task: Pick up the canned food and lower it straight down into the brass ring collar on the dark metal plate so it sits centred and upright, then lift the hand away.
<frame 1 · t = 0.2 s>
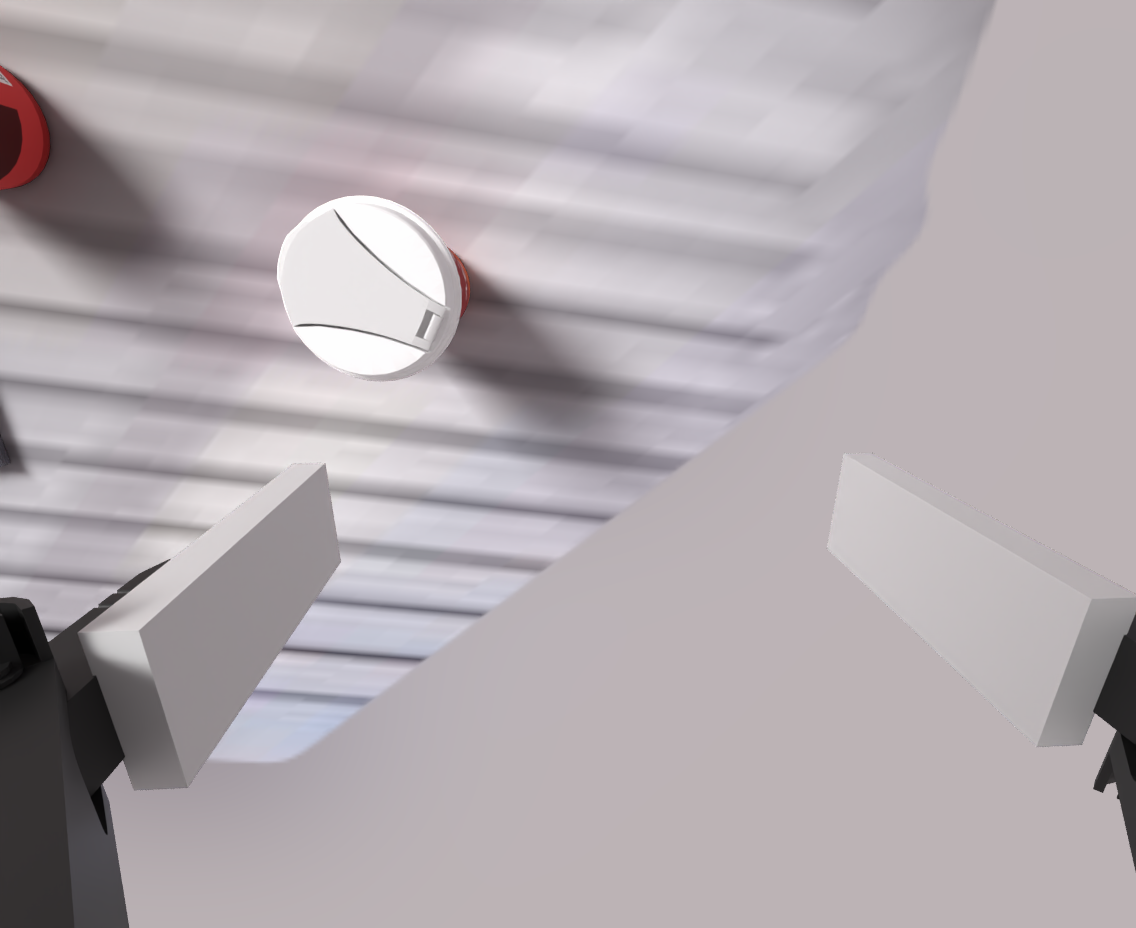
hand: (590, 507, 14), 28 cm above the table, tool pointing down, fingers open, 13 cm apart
coffee cup: (427, 286, 38), on the table
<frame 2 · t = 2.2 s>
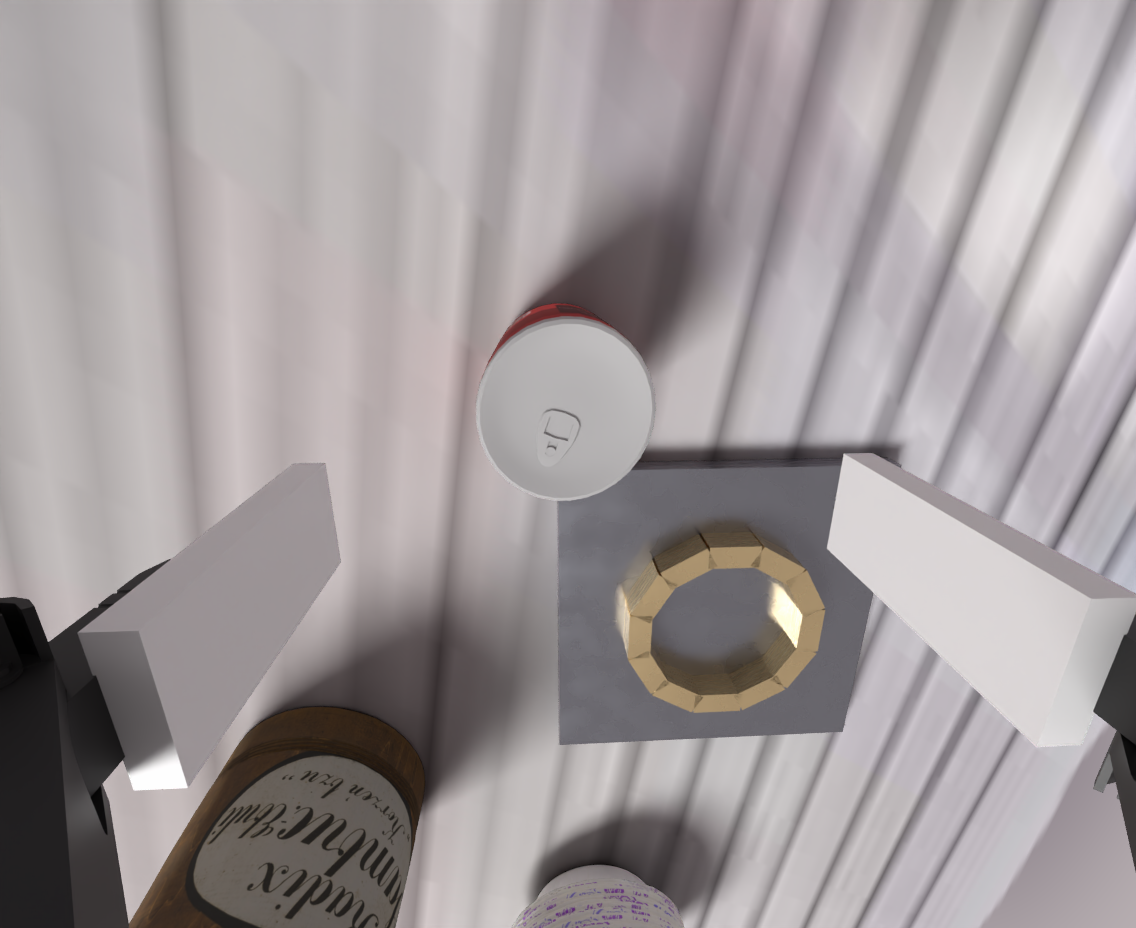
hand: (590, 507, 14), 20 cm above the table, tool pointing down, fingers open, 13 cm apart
canned food: (556, 369, 33), on the table
paper bowls: (592, 895, 49), on the table
wooden container: (331, 775, 43), on the table
collar plate: (709, 603, 39), on the table
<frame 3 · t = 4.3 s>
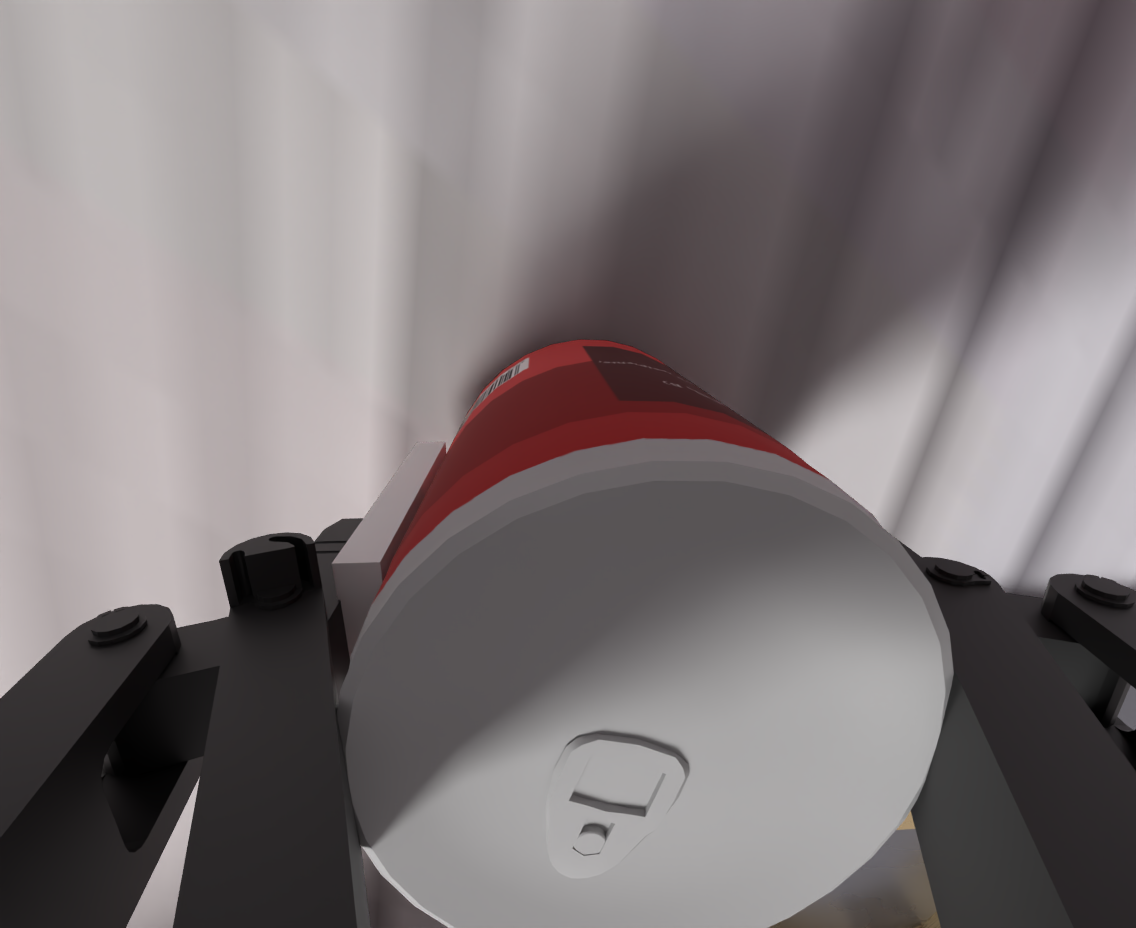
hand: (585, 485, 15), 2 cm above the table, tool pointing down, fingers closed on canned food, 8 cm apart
canned food: (579, 462, 17), on the table, touching gripper
collar plate: (834, 833, 23), on the table
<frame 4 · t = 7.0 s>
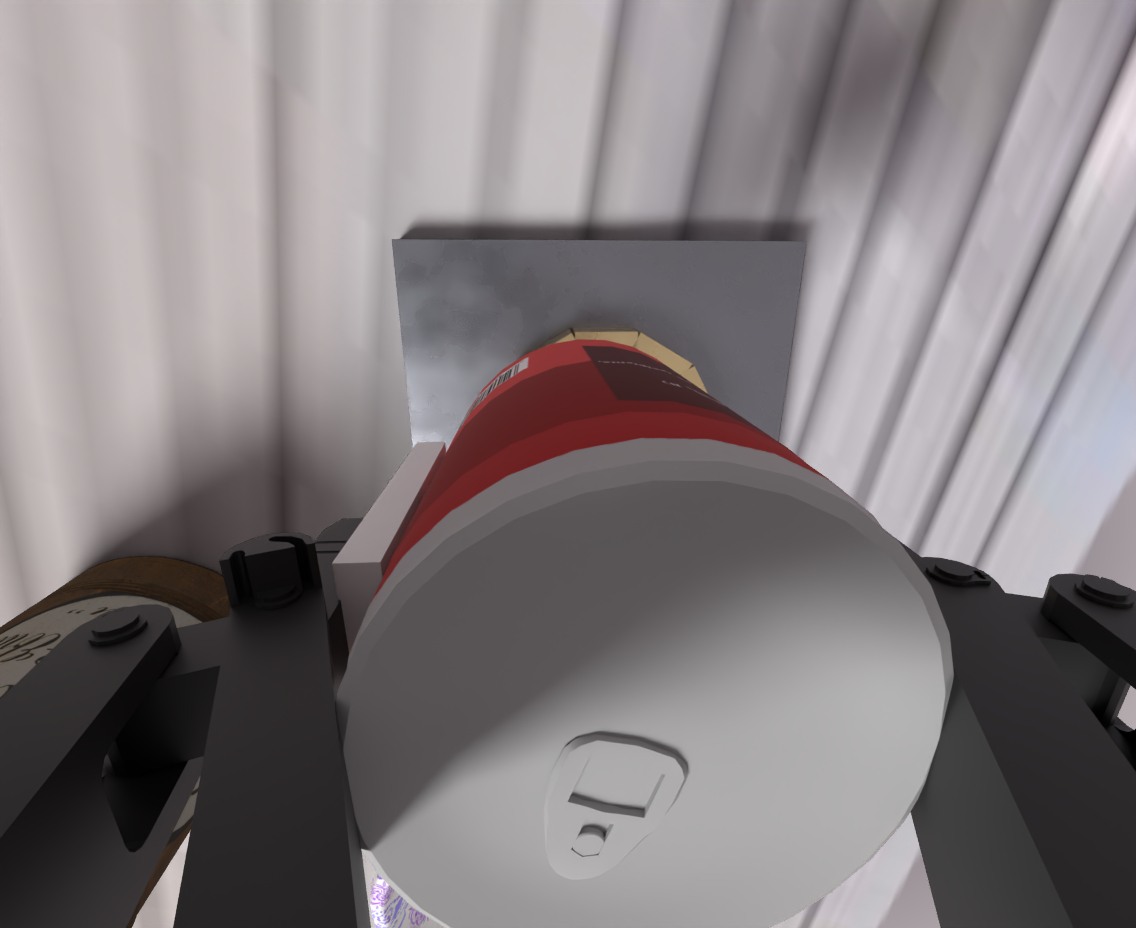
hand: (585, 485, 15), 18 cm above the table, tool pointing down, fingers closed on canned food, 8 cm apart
canned food: (579, 462, 17), point 16 cm above the table, touching gripper
paper bowls: (491, 797, 44), on the table
wooden container: (174, 646, 37), on the table
collar plate: (596, 432, 34), on the table
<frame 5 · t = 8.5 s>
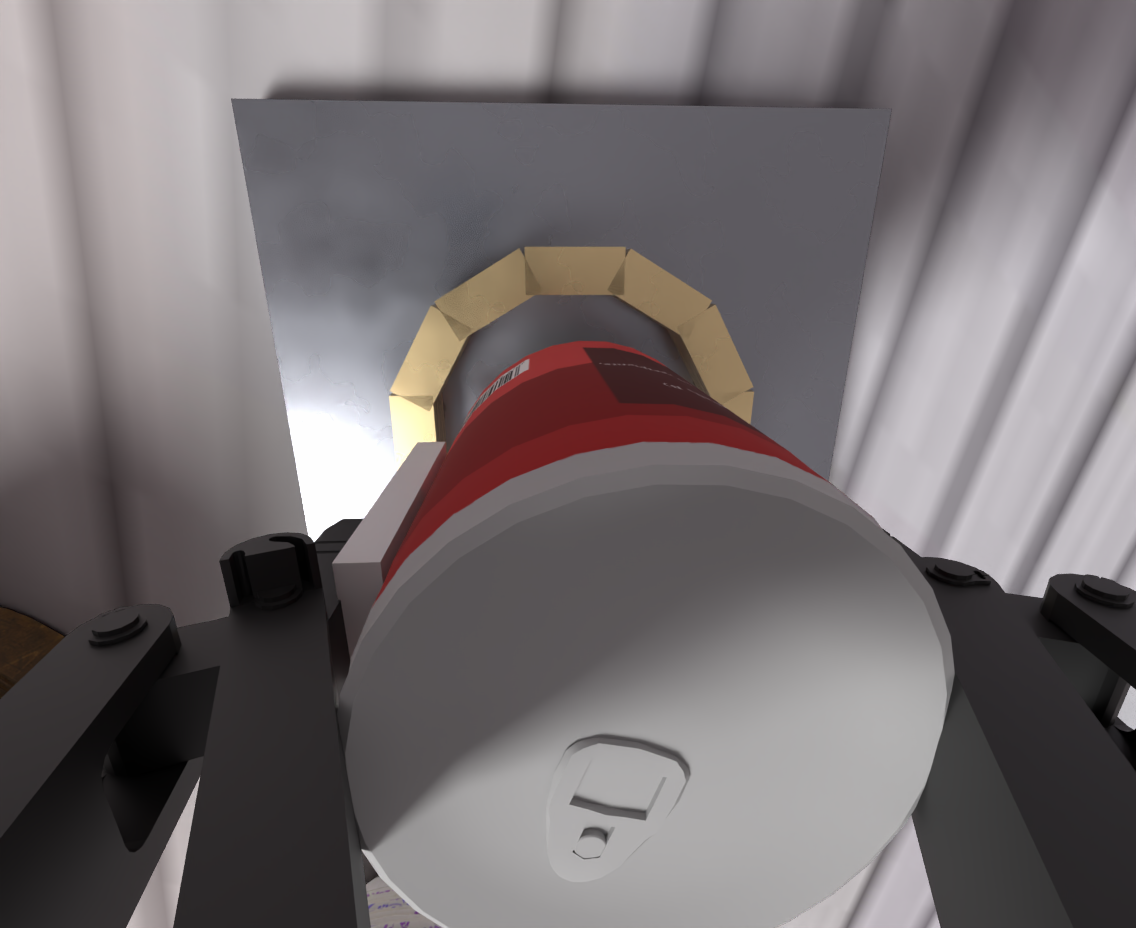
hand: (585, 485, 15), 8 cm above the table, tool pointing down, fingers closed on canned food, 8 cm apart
canned food: (580, 464, 17), point 6 cm above the table, touching gripper
paper bowls: (438, 907, 33), on the table
collar plate: (569, 414, 23), on the table
when the fingers open (4 cm above the table, at t = 9.8 s): canned food stays where it is, resting on collar plate.
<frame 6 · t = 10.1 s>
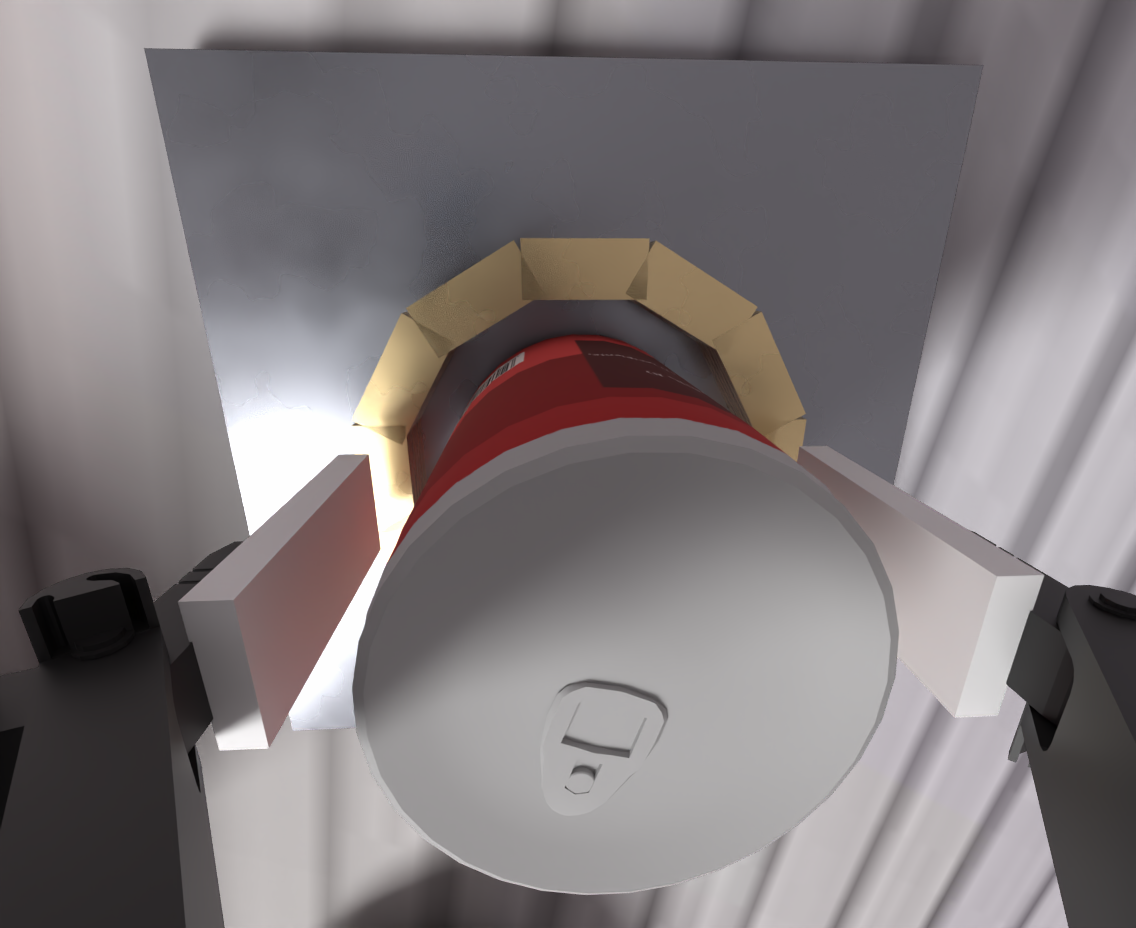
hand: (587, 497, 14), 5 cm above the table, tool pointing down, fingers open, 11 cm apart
canned food: (574, 452, 18), point 1 cm above the table, touching collar plate
collar plate: (575, 442, 19), on the table
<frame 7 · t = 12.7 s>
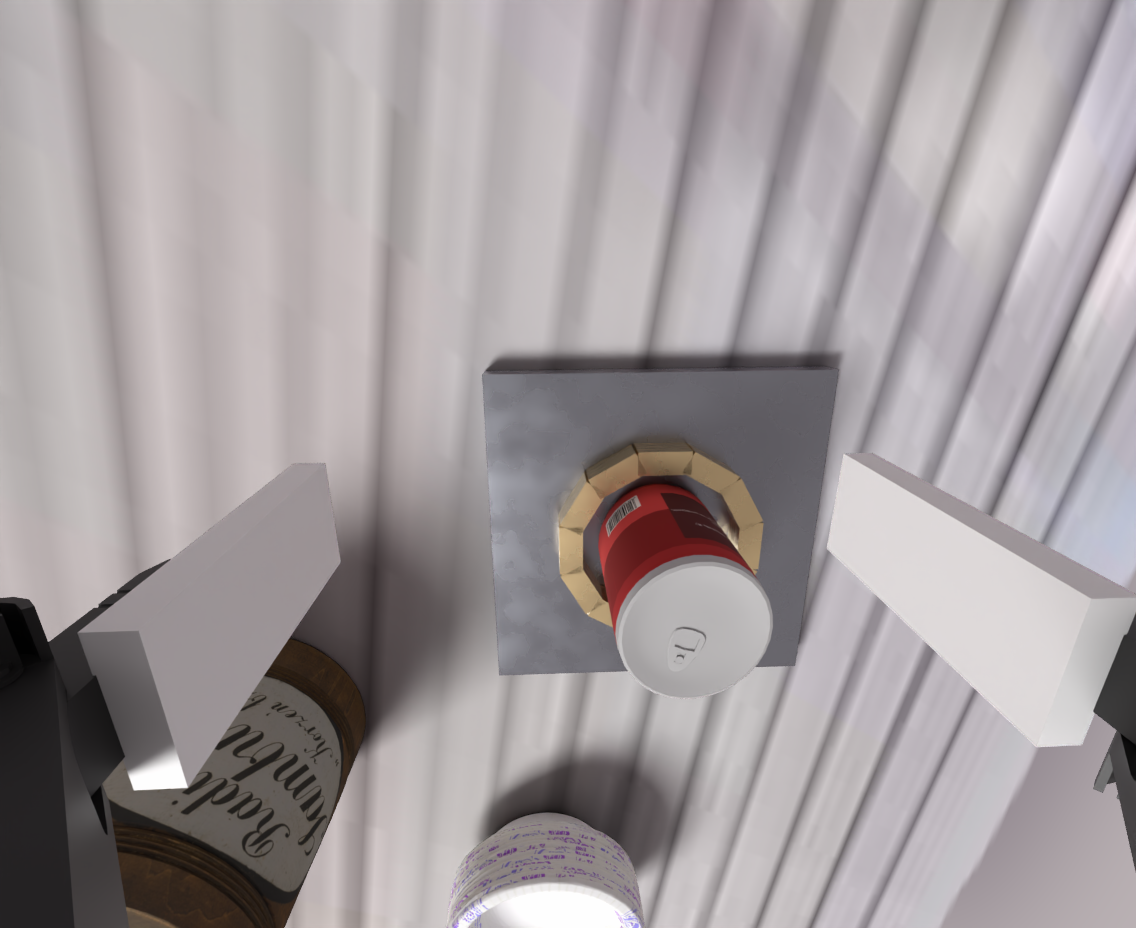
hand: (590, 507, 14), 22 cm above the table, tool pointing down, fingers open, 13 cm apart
canned food: (652, 533, 37), point 1 cm above the table, touching collar plate
paper bowls: (545, 848, 48), on the table
wooden container: (270, 710, 42), on the table
collar plate: (650, 526, 38), on the table
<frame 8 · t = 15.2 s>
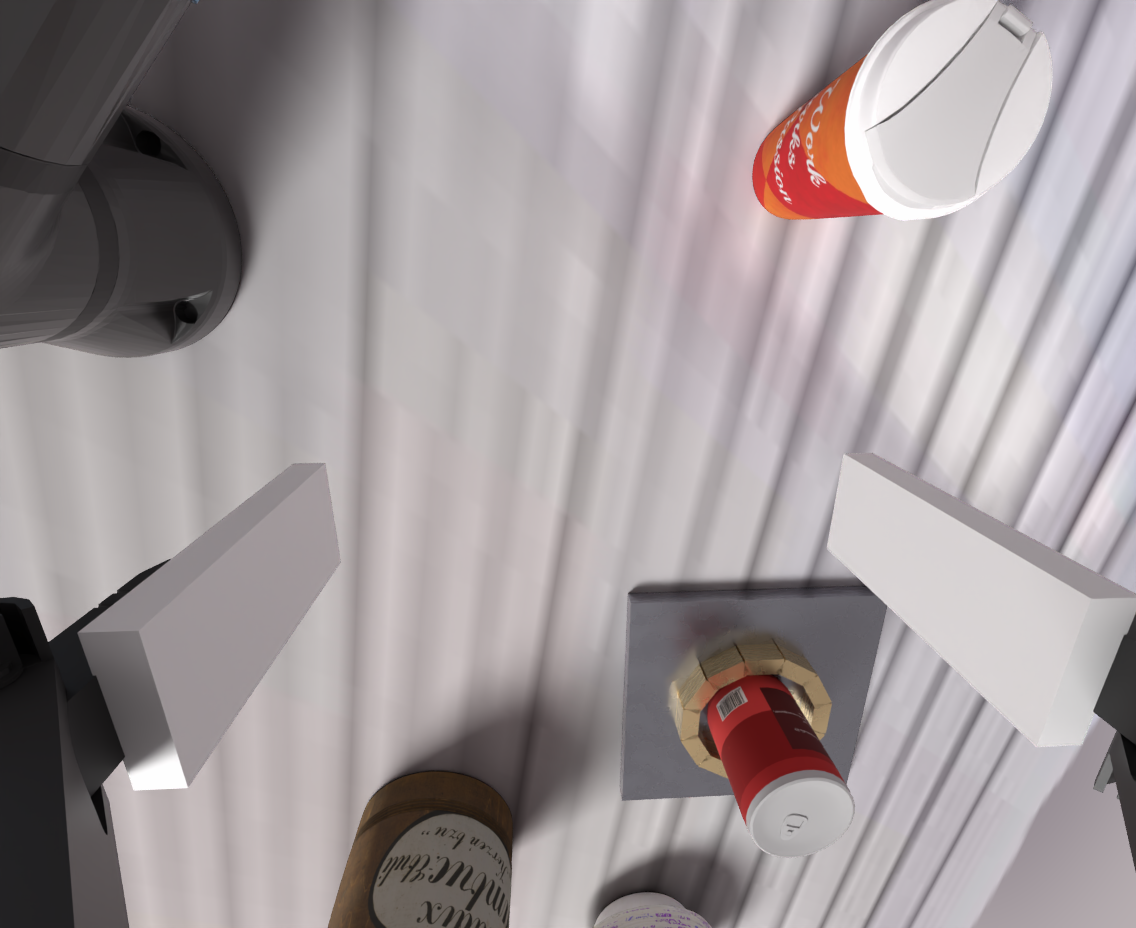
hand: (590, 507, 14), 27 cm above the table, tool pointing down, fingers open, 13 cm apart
canned food: (745, 702, 49), point 1 cm above the table, touching collar plate
paper bowls: (640, 916, 60), on the table
wooden container: (438, 823, 54), on the table
coffee cup: (793, 172, 36), on the table
collar plate: (741, 692, 50), on the table
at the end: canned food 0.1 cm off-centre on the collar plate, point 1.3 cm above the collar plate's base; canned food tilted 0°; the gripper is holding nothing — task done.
